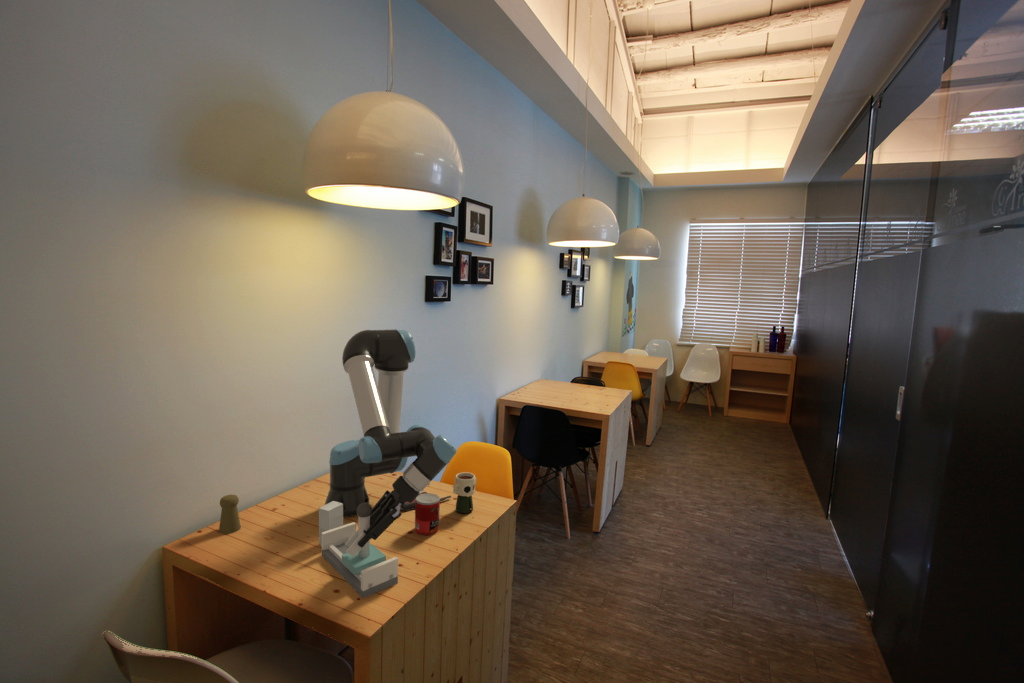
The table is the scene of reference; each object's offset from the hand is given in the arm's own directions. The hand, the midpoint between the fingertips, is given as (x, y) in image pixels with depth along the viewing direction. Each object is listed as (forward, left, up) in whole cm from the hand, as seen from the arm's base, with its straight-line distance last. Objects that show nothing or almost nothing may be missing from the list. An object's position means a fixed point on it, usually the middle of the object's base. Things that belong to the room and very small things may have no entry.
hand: (349, 550), depth 129 cm
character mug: (-11, +49, -8) cm, 50 cm away
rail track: (-2, +4, -8) cm, 9 cm away
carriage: (+1, +4, -4) cm, 6 cm away
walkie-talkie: (-26, +41, -8) cm, 49 cm away
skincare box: (-20, +4, -8) cm, 22 cm away
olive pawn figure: (-48, -17, -8) cm, 52 cm away
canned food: (-8, +31, -8) cm, 33 cm away
